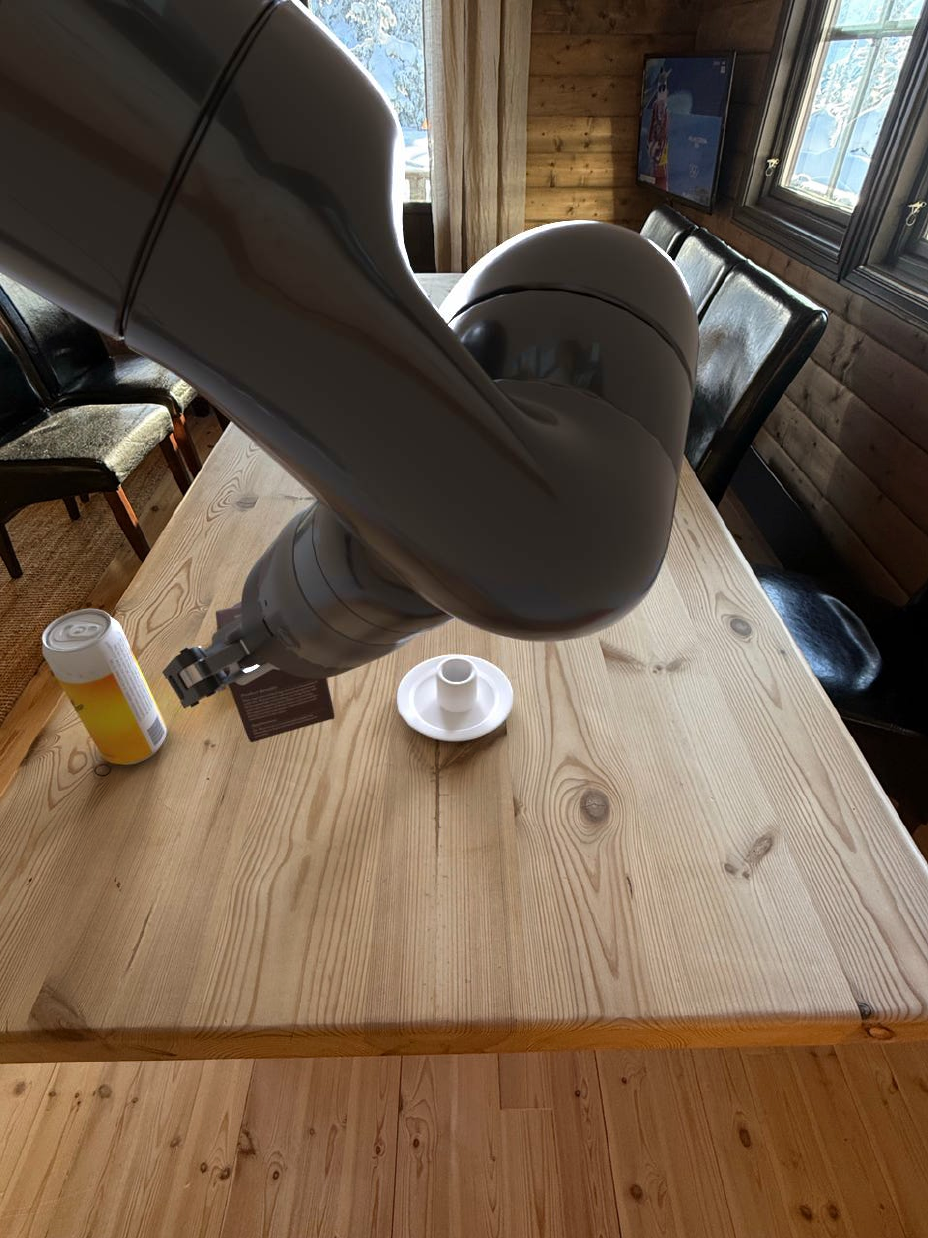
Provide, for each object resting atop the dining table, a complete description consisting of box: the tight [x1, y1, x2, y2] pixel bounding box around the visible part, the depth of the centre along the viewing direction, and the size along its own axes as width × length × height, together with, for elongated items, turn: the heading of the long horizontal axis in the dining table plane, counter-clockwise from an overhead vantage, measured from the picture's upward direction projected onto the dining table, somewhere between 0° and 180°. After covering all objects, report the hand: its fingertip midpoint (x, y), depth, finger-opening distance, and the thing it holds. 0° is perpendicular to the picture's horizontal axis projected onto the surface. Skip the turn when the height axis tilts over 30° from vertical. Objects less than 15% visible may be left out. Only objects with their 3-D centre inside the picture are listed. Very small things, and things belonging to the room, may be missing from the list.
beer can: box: [41, 608, 168, 766], centre depth 59 cm, size 6×6×15 cm
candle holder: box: [396, 654, 514, 742], centre depth 67 cm, size 12×12×4 cm
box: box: [215, 606, 336, 743], centre depth 45 cm, size 6×6×7 cm
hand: (262, 646), depth 45 cm, fingers closed on box, 8 cm apart
